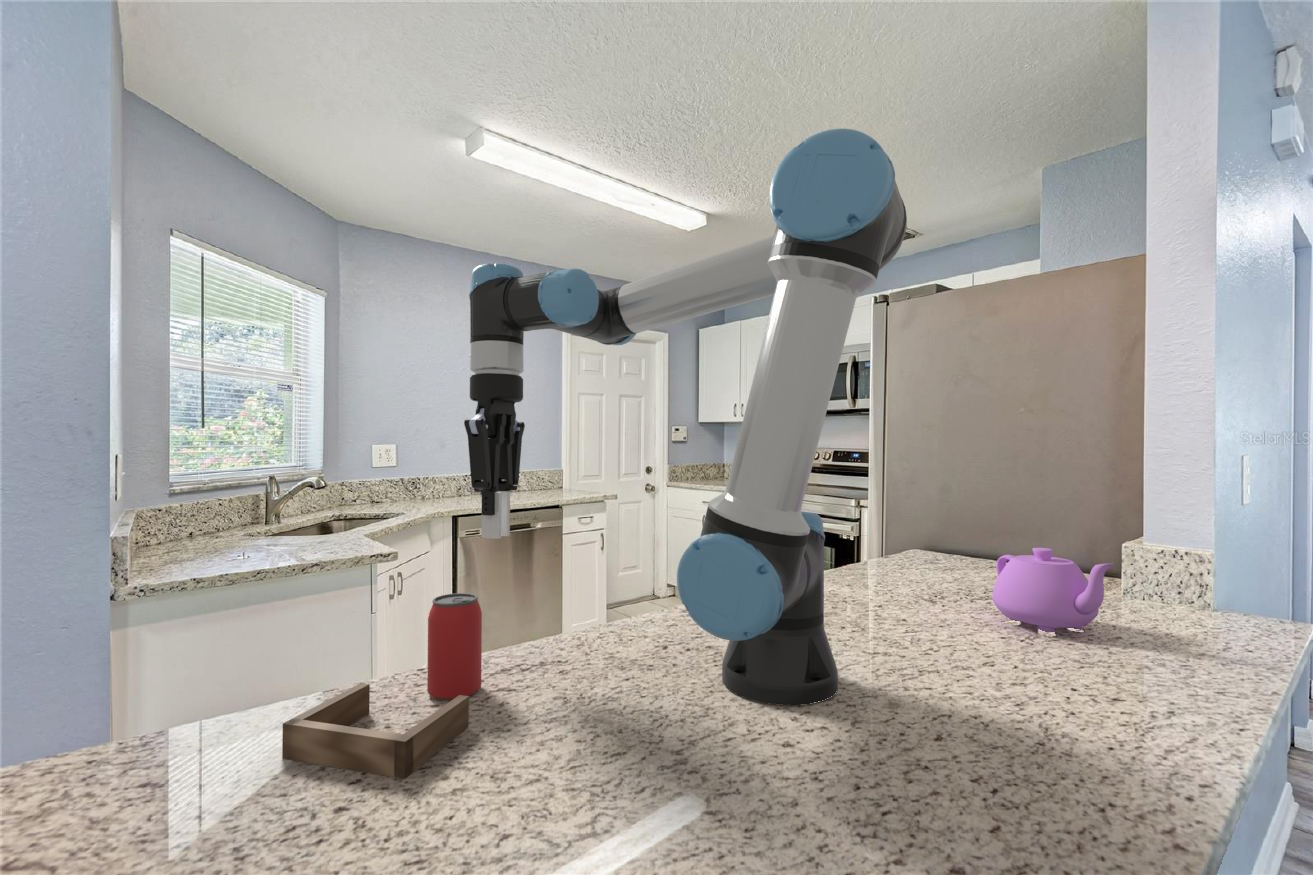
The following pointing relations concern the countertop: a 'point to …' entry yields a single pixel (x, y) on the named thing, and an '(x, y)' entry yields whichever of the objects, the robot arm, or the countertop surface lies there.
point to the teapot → (1048, 590)
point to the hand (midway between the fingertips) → (495, 536)
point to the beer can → (454, 646)
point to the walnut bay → (369, 736)
